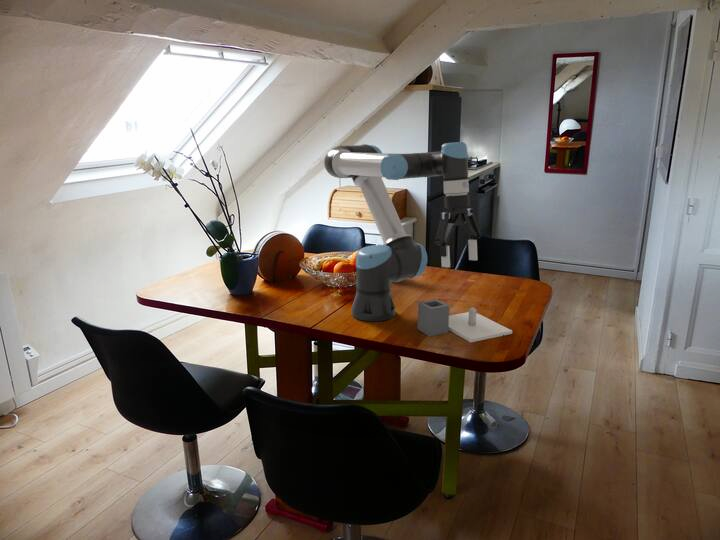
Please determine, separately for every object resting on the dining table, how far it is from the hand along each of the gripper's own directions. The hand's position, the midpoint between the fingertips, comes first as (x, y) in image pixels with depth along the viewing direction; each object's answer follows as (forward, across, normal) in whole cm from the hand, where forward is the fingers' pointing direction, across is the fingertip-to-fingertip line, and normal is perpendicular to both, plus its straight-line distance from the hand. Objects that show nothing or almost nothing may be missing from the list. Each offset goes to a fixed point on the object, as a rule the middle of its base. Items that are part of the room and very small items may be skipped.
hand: (460, 263), depth 170 cm
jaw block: (+21, -6, +7) cm, 23 cm away
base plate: (+22, +5, +1) cm, 22 cm away
